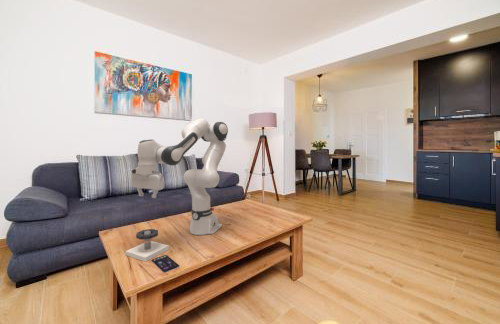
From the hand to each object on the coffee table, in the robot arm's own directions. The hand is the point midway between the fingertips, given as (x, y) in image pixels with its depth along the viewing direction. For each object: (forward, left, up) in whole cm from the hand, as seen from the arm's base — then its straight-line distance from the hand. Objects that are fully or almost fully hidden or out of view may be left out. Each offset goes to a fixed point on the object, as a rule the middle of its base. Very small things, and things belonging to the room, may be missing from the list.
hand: (147, 197), depth 116 cm
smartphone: (+9, +21, -27) cm, 36 cm away
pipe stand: (+5, +5, -27) cm, 27 cm away
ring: (+5, +5, -17) cm, 19 cm away
